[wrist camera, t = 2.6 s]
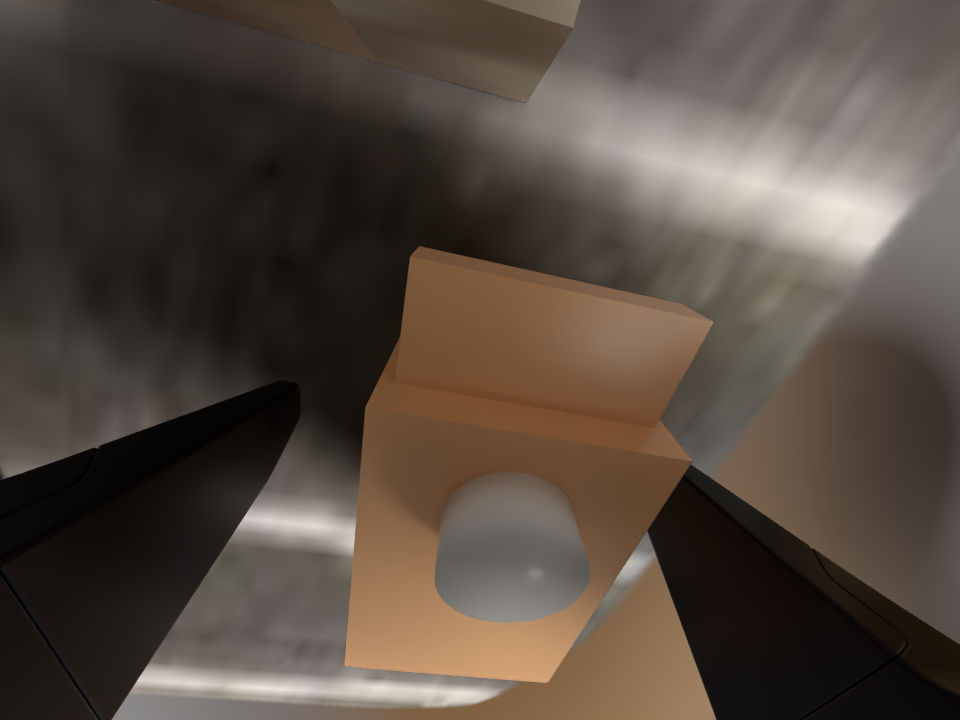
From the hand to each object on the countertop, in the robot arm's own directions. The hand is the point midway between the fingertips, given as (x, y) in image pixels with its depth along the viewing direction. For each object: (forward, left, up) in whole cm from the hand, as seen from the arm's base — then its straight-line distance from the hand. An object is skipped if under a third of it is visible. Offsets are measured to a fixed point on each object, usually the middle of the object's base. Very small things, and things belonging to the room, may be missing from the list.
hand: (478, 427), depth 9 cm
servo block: (0, 0, -1) cm, 1 cm away
